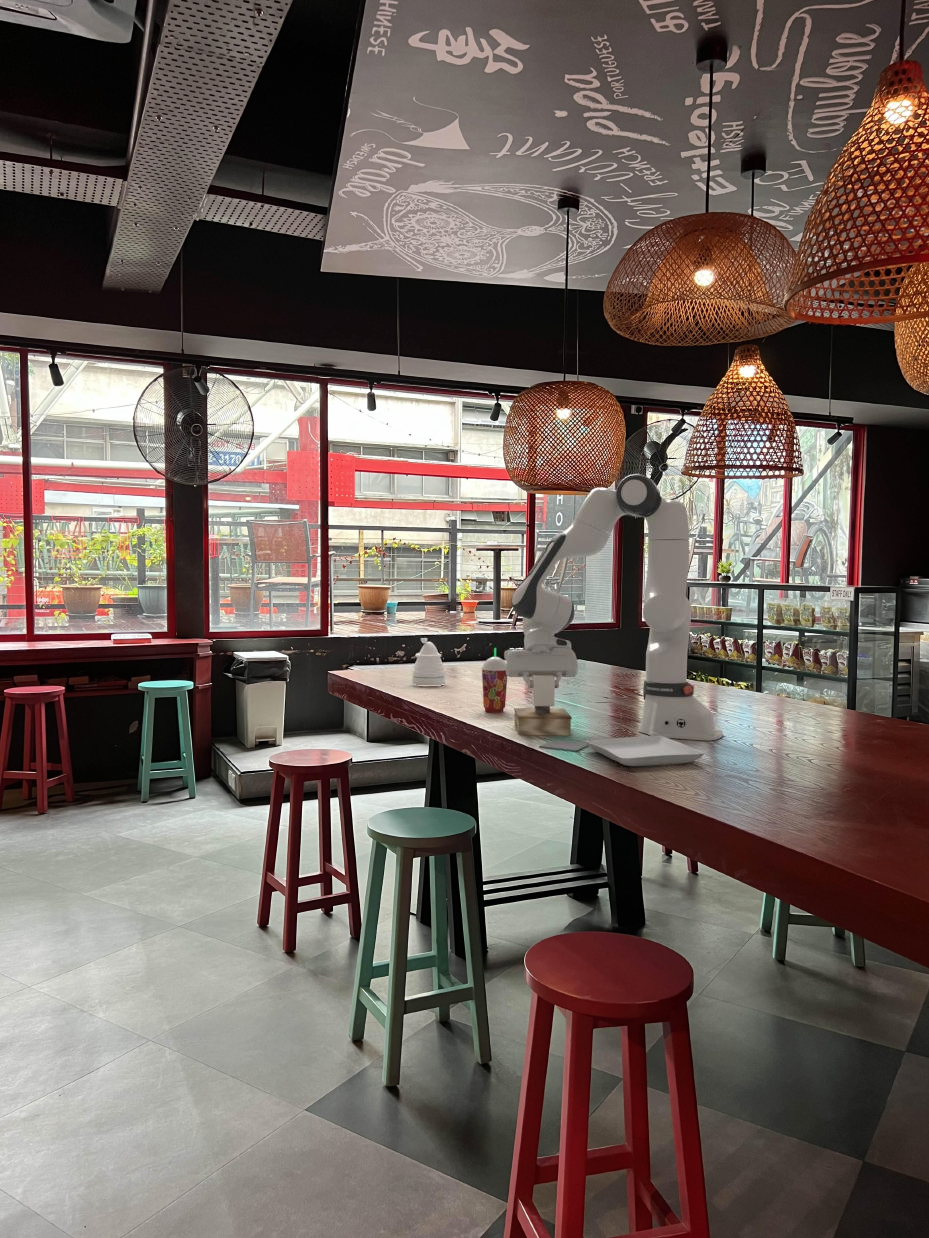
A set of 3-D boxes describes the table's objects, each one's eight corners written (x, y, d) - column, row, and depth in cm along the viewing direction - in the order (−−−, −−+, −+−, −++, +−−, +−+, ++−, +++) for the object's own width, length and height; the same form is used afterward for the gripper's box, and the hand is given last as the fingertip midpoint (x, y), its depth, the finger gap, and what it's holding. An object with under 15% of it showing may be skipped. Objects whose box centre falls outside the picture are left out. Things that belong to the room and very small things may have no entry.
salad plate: (621, 771, 191) (622, 756, 191) (583, 752, 211) (583, 738, 211) (706, 767, 197) (706, 752, 196) (661, 748, 217) (661, 735, 217)
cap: (552, 703, 241) (552, 674, 240) (554, 706, 235) (554, 677, 235) (532, 703, 241) (532, 674, 240) (533, 706, 235) (534, 677, 235)
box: (564, 725, 246) (564, 698, 245) (571, 735, 231) (571, 705, 231) (513, 725, 245) (514, 697, 245) (517, 734, 231) (518, 705, 231)
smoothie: (508, 709, 274) (509, 647, 273) (506, 713, 266) (507, 649, 265) (482, 709, 275) (482, 646, 274) (480, 713, 266) (480, 648, 265)
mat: (591, 744, 219) (591, 743, 219) (576, 751, 210) (576, 750, 210) (554, 740, 223) (554, 739, 223) (539, 747, 215) (539, 745, 215)
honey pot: (410, 686, 327) (410, 639, 326) (413, 682, 340) (414, 637, 339) (444, 687, 327) (444, 640, 326) (446, 682, 339) (446, 637, 338)
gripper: (504, 641, 244) (506, 679, 234) (576, 641, 244) (581, 679, 235) (503, 655, 248) (505, 693, 239) (573, 655, 249) (578, 693, 239)
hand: (543, 686), depth 237 cm, fingers closed on cap, 6 cm apart
